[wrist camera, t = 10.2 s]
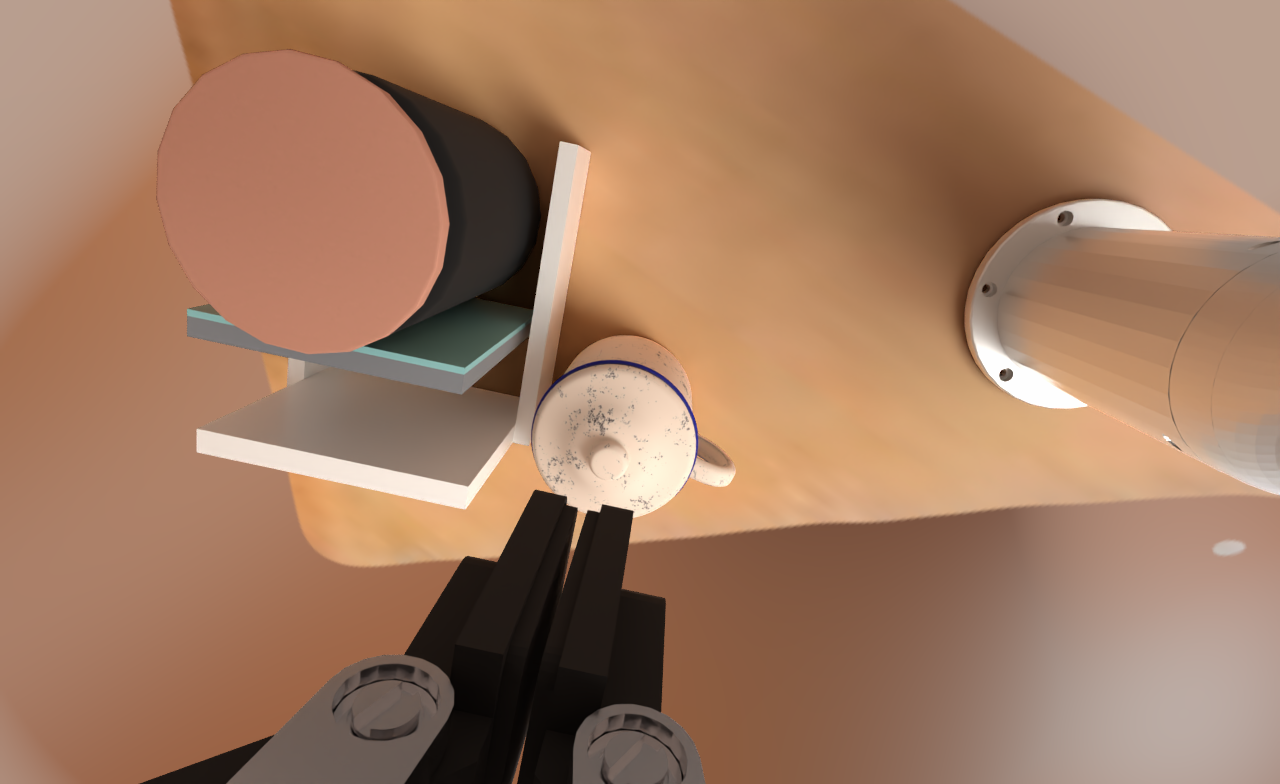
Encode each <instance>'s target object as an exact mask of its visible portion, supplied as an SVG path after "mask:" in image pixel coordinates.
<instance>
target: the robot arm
mask: <svg viewBox="0 0 1280 784" xmlns="http://www.w3.org/2000/svg"><path fill="white" fill-rule="evenodd" d="M1059 214H1060V216H1061V219H1060V220H1059V221H1057V219H1058V216H1059ZM985 284H986V286H987V289H986V290H985V291H984V292H982V288H983V286H984V285H985ZM965 333H966V338H967V343H968V347H969V349H970V351H971V354H972V356H973V358H974V360H975V363H976V364H977V365H978V367H979V368H980V370H981V371H982V372H983V374H984V375H985V376H986V377H987V378H988V379H989V380H990V381H991V382H992V383H993V384H995V385H996V386H997V387H998V388H999V389H1001V390H1002V391H1004V392H1006V393H1007V394H1009V395H1011V396H1012V397H1014V398H1016V399H1019V400H1021V401H1023V402H1026V403H1028V404H1030V405H1035V406H1040V407H1045V408H1049V409H1073V408H1080V407H1087V406H1090V407H1092V408H1094V409H1096V410H1098V411H1100V412H1102V413H1104V414H1106V415H1108V416H1110V417H1112V418H1114V419H1116V420H1118V421H1120V422H1122V423H1124V424H1126V425H1128V426H1130V427H1132V428H1134V429H1136V430H1138V431H1140V432H1142V433H1144V434H1146V435H1148V436H1150V437H1152V438H1154V439H1156V440H1158V441H1160V442H1162V443H1164V444H1166V445H1168V446H1170V447H1172V448H1174V449H1176V450H1178V451H1180V452H1182V453H1184V454H1186V455H1188V456H1190V457H1192V458H1194V459H1196V460H1198V461H1200V462H1202V463H1204V464H1206V465H1208V466H1210V467H1212V468H1214V469H1216V470H1218V471H1220V472H1223V473H1225V474H1227V475H1229V476H1231V477H1233V478H1235V479H1237V480H1239V481H1241V482H1243V483H1246V484H1248V485H1251V486H1253V487H1256V488H1258V489H1261V490H1264V491H1266V492H1269V493H1273V494H1277V495H1280V237H1263V236H1245V235H1228V234H1211V233H1193V232H1176V231H1173V230H1172V229H1171V228H1169V227H1168V226H1167V225H1166V224H1165V223H1164V222H1163V221H1162V220H1161V219H1160V218H1159V217H1157V216H1156V215H1154V214H1152V213H1151V212H1149V211H1147V210H1145V209H1144V208H1142V207H1139V206H1136V205H1133V204H1130V203H1127V202H1124V201H1118V200H1108V199H1080V200H1074V201H1069V202H1063V203H1059V204H1056V205H1053V206H1051V207H1048V208H1045V209H1042V210H1040V211H1038V212H1036V213H1034V214H1032V215H1031V216H1029V217H1027V218H1025V219H1024V220H1022V221H1020V222H1019V223H1017V224H1016V225H1015V226H1014V227H1013V228H1011V229H1010V230H1009V231H1008V232H1006V233H1005V234H1004V235H1003V236H1002V237H1001V238H1000V239H999V240H998V241H997V242H996V243H995V245H994V246H993V247H992V248H991V249H990V250H989V251H988V253H987V254H986V256H985V257H984V259H983V261H982V262H981V264H980V265H979V267H978V269H977V270H976V272H975V275H974V277H973V280H972V282H971V285H970V287H969V290H968V295H967V300H966V305H965ZM1002 369H1003V372H1002V374H1000V375H999V373H1000V371H1001V370H1002ZM577 511H578V508H577V507H572V506H568V505H567V496H562V495H558V494H553V493H548V492H544V491H539V490H535V491H534V492H533V494H532V496H531V498H530V500H529V502H528V504H527V506H526V508H525V509H524V511H523V513H522V515H521V517H520V519H519V521H518V523H517V525H516V527H515V529H514V531H513V533H512V535H511V537H510V539H509V540H508V542H507V544H506V546H505V548H504V550H503V552H502V554H501V556H500V558H499V560H498V562H494V561H489V560H484V559H480V558H475V557H470V556H467V557H465V558H464V559H463V560H462V562H461V563H460V565H459V567H458V568H457V570H456V571H455V573H454V575H453V576H452V578H451V580H450V582H449V583H448V584H447V586H446V588H445V589H444V591H443V592H442V594H441V596H440V597H439V599H438V601H437V603H436V604H435V605H434V607H433V609H432V610H431V612H430V614H429V615H428V617H427V618H426V620H425V622H424V623H423V625H422V627H421V628H420V630H419V632H418V633H417V635H416V636H415V638H414V640H413V641H412V643H411V644H410V646H409V648H408V649H407V651H406V652H405V654H404V655H382V656H377V657H373V658H368V659H364V660H361V661H359V662H357V663H355V664H352V665H350V666H348V667H346V668H344V669H343V670H342V671H341V672H339V673H338V674H336V675H335V676H334V677H333V678H331V679H330V680H329V681H328V682H327V683H326V684H325V685H324V686H323V687H322V688H321V689H320V690H319V691H318V692H317V693H316V694H315V695H314V696H313V697H312V698H311V699H310V700H309V701H308V702H307V703H306V704H305V705H304V706H303V707H302V708H301V709H300V710H299V711H298V712H297V713H296V714H295V715H294V716H293V717H292V718H291V719H290V720H289V721H288V722H287V723H286V724H285V725H284V726H283V727H282V728H281V729H280V730H279V731H278V732H277V733H276V734H275V735H273V736H270V737H267V738H265V739H262V740H259V741H256V742H253V743H251V744H248V745H245V746H242V747H240V748H237V749H234V750H232V751H228V752H226V753H223V754H220V755H218V756H215V757H212V758H209V759H207V760H204V761H201V762H198V763H195V764H193V765H190V766H187V767H184V768H182V769H179V770H176V771H173V772H170V773H168V774H165V775H162V776H159V777H157V778H154V779H151V780H148V781H146V782H143V783H140V784H512V781H513V778H514V775H515V771H516V768H517V765H518V761H519V758H520V754H521V751H522V748H523V744H524V740H525V737H526V740H525V745H524V751H523V756H522V761H521V766H520V772H519V777H518V782H517V784H705V780H704V775H703V770H702V765H701V760H700V757H699V754H698V752H697V749H696V746H695V744H694V742H693V741H692V739H691V738H690V737H689V735H688V734H687V733H686V731H685V730H684V729H683V727H681V726H680V725H679V724H677V723H676V722H675V721H674V720H672V719H671V718H670V717H668V716H667V715H665V714H663V713H661V702H662V678H663V655H664V631H665V630H664V629H665V606H666V603H665V602H666V601H665V598H662V597H657V596H652V595H647V594H643V593H639V592H634V591H629V590H625V589H621V588H622V582H623V576H624V570H625V563H626V556H627V551H628V545H629V538H630V532H631V526H632V519H633V513H634V511H633V510H628V509H623V508H619V507H614V506H609V505H604V504H602V506H601V510H600V512H596V511H591V510H587V514H586V517H585V520H584V523H583V526H582V530H581V533H580V536H579V539H578V543H577V546H576V549H575V552H574V556H573V559H572V562H571V565H570V568H569V572H568V575H567V578H566V582H565V585H564V588H563V584H564V579H565V574H566V568H567V563H568V558H569V553H570V548H571V543H572V537H573V532H574V527H575V522H576V517H577ZM562 589H563V591H562ZM526 734H527V735H526Z"/></svg>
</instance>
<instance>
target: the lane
mask: <svg viewBox="0 0 1280 784" xmlns="http://www.w3.org/2000/svg"><path fill="white" fill-rule="evenodd" d="M590 156H591V152H590V151H588V150H586V149H585V148H583V147H581V146H579V145H576V144H571V143H567V142H562V141H560V144H559V150H558V157H557V163H556V169H555V176H554V182H553V189H552V195H551V201H550V208H549V214H548V221H547V227H546V233H545V240H544V246H543V253H542V259H541V265H540V272H539V278H538V284H537V291H536V297H535V304H534V310H533V316H532V323H531V329H530V336H529V342H528V348H527V355H526V361H525V368H524V374H523V380H522V387H521V393H520V397H517V396H512V395H508V394H503V393H498V392H494V391H489V390H484V389H479V388H475V387H470V388H469V389H467V390H466V391H465V392H464V393H463V394H462V395H461V394H456V393H452V392H447V391H442V390H438V389H433V388H428V387H423V386H419V385H414V384H409V383H405V382H400V381H395V380H391V379H386V378H381V377H377V376H372V375H367V374H362V373H358V372H353V371H348V370H344V369H339V368H334V367H330V366H325V365H320V364H316V363H311V362H306V361H301V360H297V359H292V358H288V378H287V387H286V388H284V389H281V390H279V391H277V392H275V393H273V394H271V395H268V396H266V397H264V398H262V399H260V400H258V401H256V402H254V403H251V404H249V405H247V406H245V407H243V408H241V409H238V410H236V411H234V412H232V413H230V414H228V415H225V416H223V417H221V418H219V419H217V420H215V421H212V422H210V423H208V424H206V425H204V426H202V427H200V428H197V452H198V453H203V454H208V455H213V456H217V457H222V458H227V459H232V460H236V461H241V462H245V463H250V464H255V465H259V466H264V467H269V468H273V469H278V470H283V471H287V472H292V473H297V474H301V475H306V476H311V477H315V478H320V479H325V480H330V481H334V482H339V483H344V484H348V485H353V486H358V487H362V488H367V489H372V490H376V491H381V492H386V493H390V494H395V495H400V496H404V497H409V498H414V499H418V500H423V501H428V502H432V503H437V504H442V505H447V506H451V507H456V508H461V509H466V508H467V506H468V505H469V504H470V502H471V501H472V499H473V498H474V497H475V495H476V494H477V492H478V491H479V489H480V488H481V487H482V485H483V484H484V482H485V481H486V480H487V478H488V477H489V475H490V474H491V473H492V471H493V470H494V468H495V467H496V466H497V464H498V463H499V461H500V460H501V458H502V457H503V456H504V454H505V453H506V451H507V450H508V449H509V447H510V446H511V444H512V443H517V444H522V445H527V446H529V445H530V444H531V429H532V422H533V418H534V414H535V412H536V409H537V406H538V404H539V402H540V400H541V399H542V397H543V396H544V394H545V393H546V391H547V390H548V389H549V388H550V386H551V385H552V379H553V373H554V367H555V362H556V356H557V350H558V344H559V338H560V332H561V326H562V320H563V314H564V309H565V303H566V297H567V291H568V285H569V279H570V273H571V267H572V262H573V256H574V250H575V244H576V238H577V232H578V226H579V220H580V215H581V209H582V203H583V197H584V191H585V185H586V179H587V173H588V167H589V162H590Z"/></svg>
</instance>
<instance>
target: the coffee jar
mask: <svg viewBox="0 0 1280 784" xmlns="http://www.w3.org/2000/svg"><path fill="white" fill-rule="evenodd" d="M156 198H157V202H158V206H159V210H160V214H161V218H162V222H163V225H164V229H165V232H166V236H167V240H168V244H169V246H170V248H171V250H172V252H173V253H174V255H175V257H176V259H177V260H178V262H179V264H180V265H181V267H182V269H183V271H184V272H185V274H186V276H187V278H188V279H189V281H190V283H191V284H192V286H193V287H194V289H195V290H196V291H198V293H199V294H200V295H201V296H202V297H203V298H204V299H205V300H206V301H207V302H208V303H209V304H210V305H211V306H212V307H213V308H214V309H215V310H216V311H217V312H218V313H219V314H220V315H221V316H222V317H223V318H224V319H225V320H226V321H228V322H230V323H231V324H233V325H235V326H236V327H238V328H240V329H242V330H243V331H245V332H247V333H248V334H250V335H252V336H253V337H255V338H257V339H259V340H260V341H262V342H264V343H266V344H270V345H274V346H278V347H282V348H286V349H290V350H294V351H297V352H301V353H305V354H321V353H338V352H351V351H353V350H356V349H358V348H360V347H363V346H365V345H368V344H370V343H372V342H375V341H377V340H380V339H382V338H384V337H387V336H389V335H390V334H393V333H395V332H398V331H400V330H402V329H405V328H407V327H410V326H412V325H414V324H417V323H419V322H421V321H423V320H426V319H428V318H430V317H432V316H434V315H437V314H439V313H441V312H443V311H445V310H448V309H450V308H452V307H454V306H456V305H459V304H461V303H463V302H465V301H468V300H470V299H472V298H474V297H476V296H479V295H481V294H483V293H485V292H487V291H490V290H492V289H494V288H496V287H498V286H501V285H503V284H504V283H505V282H506V281H507V280H509V279H510V278H511V277H512V276H513V275H514V274H515V273H516V272H517V271H519V270H520V269H521V268H522V267H523V265H524V263H525V262H526V260H527V258H528V256H529V254H530V253H531V251H532V249H533V247H534V245H535V244H536V239H537V234H538V229H539V224H540V218H541V212H540V202H539V193H538V186H537V184H536V182H535V179H534V177H533V175H532V172H531V170H530V167H529V165H528V163H527V160H526V159H525V158H524V156H523V155H522V154H521V153H520V152H519V150H518V149H517V148H516V147H515V146H514V144H513V143H512V142H511V141H510V140H509V138H508V137H507V136H505V135H504V134H502V133H501V132H499V131H498V130H496V129H495V128H493V127H491V126H490V125H488V124H487V123H485V122H484V121H482V120H480V119H477V118H475V117H473V116H470V115H468V114H465V113H463V112H460V111H458V110H456V109H453V108H451V107H448V106H446V105H444V104H441V103H439V102H436V101H434V100H431V99H429V98H427V97H424V96H422V95H419V94H417V93H414V92H412V91H410V90H407V89H405V88H402V87H400V86H398V85H395V84H393V83H390V82H388V81H385V80H383V79H381V78H378V77H376V76H373V75H369V74H365V73H362V72H358V71H354V70H351V69H350V68H348V67H346V66H345V65H343V64H341V63H340V62H338V61H334V60H330V59H327V58H323V57H319V56H315V55H311V54H307V53H303V52H300V51H296V50H292V49H287V50H277V51H266V52H256V53H246V54H242V55H240V56H238V57H236V58H234V59H232V60H230V61H228V62H226V63H224V64H222V65H220V66H218V67H216V68H215V69H213V70H211V71H209V72H207V73H205V74H203V75H202V76H201V77H200V78H199V79H198V80H197V82H196V83H195V84H194V85H193V86H192V87H191V89H190V90H189V91H188V92H187V93H186V94H185V96H184V97H183V98H182V99H181V100H180V102H179V103H178V104H177V105H176V106H175V107H174V109H173V111H172V114H171V117H170V120H169V122H168V125H167V128H166V130H165V133H164V136H163V139H162V141H161V144H160V147H159V149H158V162H157V196H156Z"/></svg>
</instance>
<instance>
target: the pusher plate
mask: <svg viewBox="0 0 1280 784" xmlns="http://www.w3.org/2000/svg"><path fill="white" fill-rule="evenodd" d="M532 316H533V310H531V309H526V308H521V307H517V306H512V305H507V304H502V303H498V302H493V301H488V300H484V299H479V298H472V299H470V300H468V301H465V302H463V303H461V304H459V305H456V306H454V307H452V308H450V309H448V310H445V311H443V312H441V313H439V314H437V315H434V316H432V317H430V318H428V319H426V320H423V321H421V322H419V323H417V324H414V325H412V326H410V327H407V328H405V329H402V330H400V331H398V332H395V333H393V334H390V335H389V336H387V337H384V338H382V339H380V340H377V341H375V342H372V343H370V344H368V345H365V346H363V347H360V348H358V349H356V350H353V351H351V352H338V353H321V354H305V353H301V352H297V351H294V350H290V349H286V348H282V347H278V346H274V345H270V344H266V343H264V342H262V341H260V340H259V339H257V338H255V337H253V336H252V335H250V334H248V333H247V332H245V331H243V330H242V329H240V328H238V327H236V326H235V325H233V324H231V323H230V322H228V321H226V320H225V319H224V318H223V317H222V316H221V315H220V314H219V313H218V312H217V311H216V310H215V309H214V308H213V307H212V306H211V305H210V304H208V305H203V306H198V307H193V308H189V309H187V336H189V337H193V338H198V339H203V340H208V341H212V342H217V343H222V344H226V345H231V346H236V347H241V348H245V349H250V350H255V351H259V352H264V353H269V354H273V355H278V356H283V357H287V358H292V359H297V360H301V361H306V362H311V363H316V364H320V365H325V366H330V367H334V368H339V369H344V370H348V371H353V372H358V373H362V374H367V375H372V376H377V377H381V378H386V379H391V380H395V381H400V382H405V383H409V384H414V385H419V386H423V387H428V388H433V389H438V390H442V391H447V392H452V393H456V394H461V395H462V394H463V393H464V392H465V391H466V390H467V389H469V388H470V387H471V386H472V385H473V384H474V383H476V382H477V381H478V380H479V379H480V378H481V377H482V376H484V375H485V374H486V373H487V372H488V371H489V370H491V369H492V368H493V367H494V366H495V365H496V364H497V363H499V362H500V361H501V360H502V359H503V358H504V357H506V356H507V355H508V354H509V353H510V352H511V351H512V350H514V349H515V348H516V347H517V346H518V345H519V344H521V343H522V342H523V341H524V340H525V339H526V338H528V337H529V336H530V329H531V323H532Z"/></svg>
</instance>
